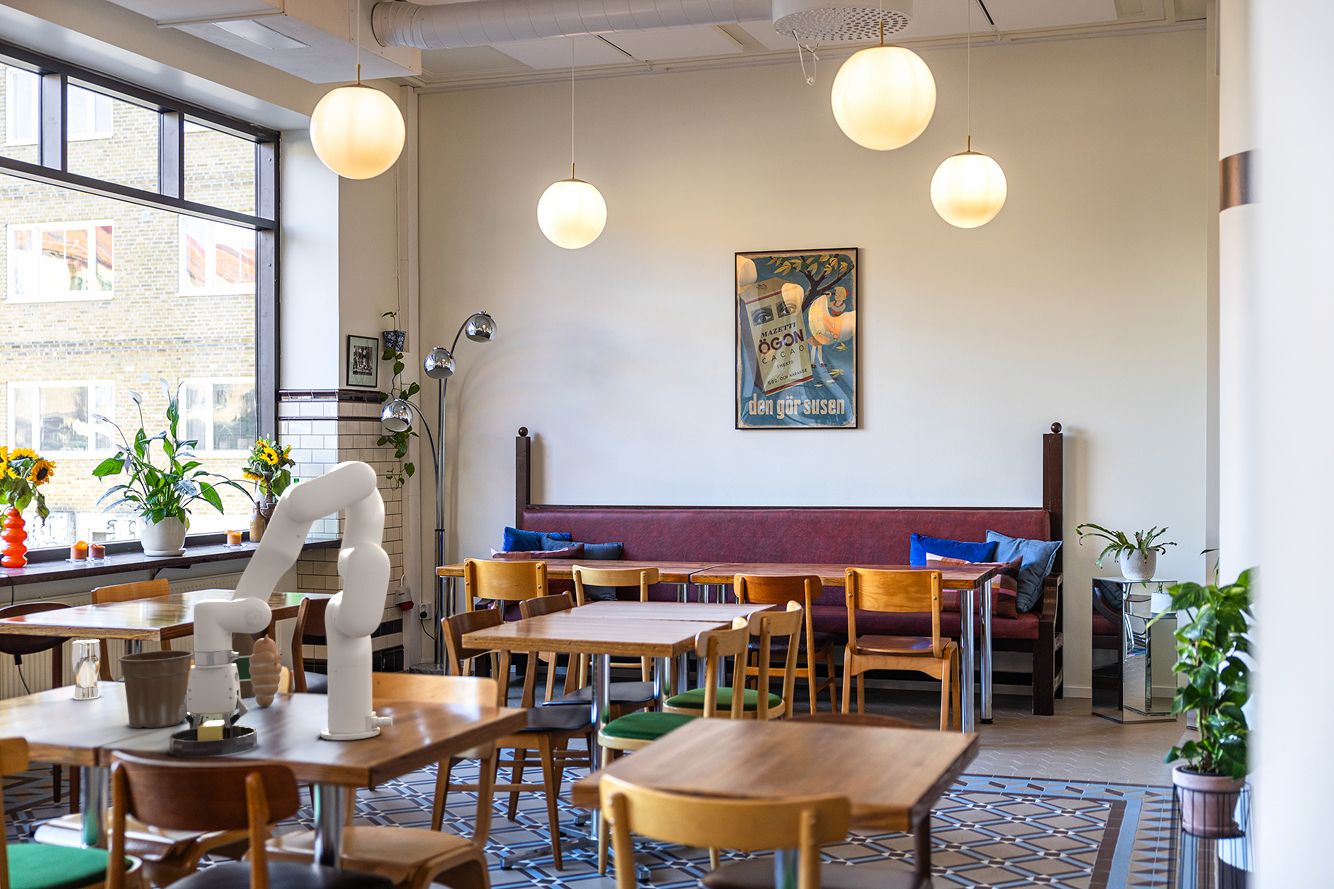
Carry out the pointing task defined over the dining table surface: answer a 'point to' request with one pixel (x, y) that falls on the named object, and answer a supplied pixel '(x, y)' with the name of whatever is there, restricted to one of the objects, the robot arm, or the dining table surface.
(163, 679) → the plant pot
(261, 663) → the tan ribbed tapered piece
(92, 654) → the beer glass
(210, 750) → the round cake pan
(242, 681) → the beer bottle
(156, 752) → the dining table surface
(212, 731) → the cheese
